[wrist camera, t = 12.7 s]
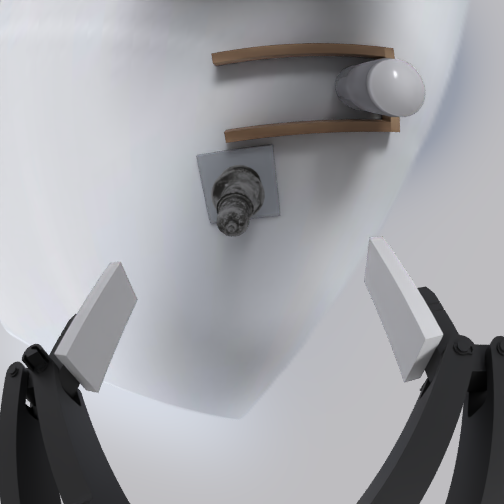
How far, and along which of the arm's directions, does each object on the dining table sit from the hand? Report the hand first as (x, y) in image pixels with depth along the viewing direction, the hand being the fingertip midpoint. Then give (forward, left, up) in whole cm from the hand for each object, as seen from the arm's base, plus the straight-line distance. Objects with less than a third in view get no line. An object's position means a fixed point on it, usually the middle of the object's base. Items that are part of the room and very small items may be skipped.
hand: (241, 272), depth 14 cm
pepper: (-9, +14, -22) cm, 27 cm away
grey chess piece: (+2, -2, -21) cm, 21 cm away
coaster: (+2, -2, -22) cm, 22 cm away
